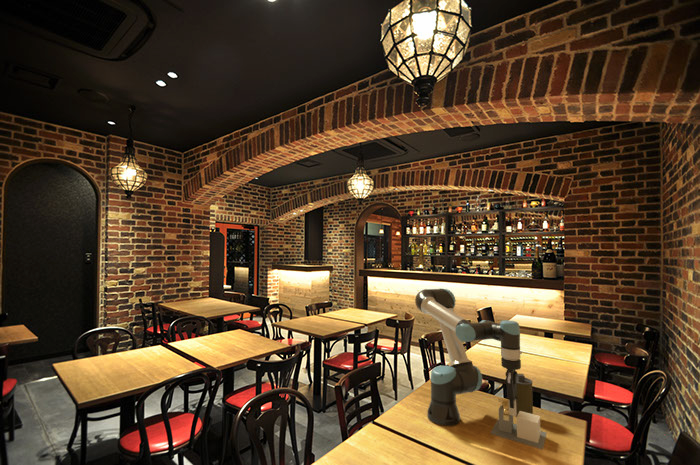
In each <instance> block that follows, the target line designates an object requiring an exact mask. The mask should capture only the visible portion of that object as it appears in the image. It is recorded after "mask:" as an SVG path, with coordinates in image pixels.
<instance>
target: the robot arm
mask: <svg viewBox="0 0 700 465" xmlns="http://www.w3.org/2000/svg"><path fill="white" fill-rule="evenodd" d="M414 298H415V299H414V302H415V306H416V308H417V309H418V311H420V312H422V313H423V314H425V315H430V317H433V318H434V319H435V320H436V321H438V323H439V328H440V331H441V333H442V337H443V341H444V344H445V346H446V349H447V350H446V351H447V353H448V356H449V361H450V363H449V365H438V366H435V367H433V368H432V369H431V372H430V373H431V374H430V401H429V406H428V408H427V419H428V420H429V421H431V422H432V423H434V424H436V425H439V426H445V427H450V426H456V425H458V424H459V423H460V422H461V415H460V412H459V409H458V405H457V395H461V394H468V393H473V392H476V391H478V390H480V389H481V386H482V385H483V375H482V372H481V370H480V369H479V368H478V367H477V366H475V365H474V363H473V361H472V360H471V359H469V358H468V356H467V352H466V349H465V347H464V344H463V342H464V343H467V342H474V341H486V340H495V341H498V342H500V356H501V358H500V360H501V366H502V368H504V369H506V371H505V385H506V398H505V399H508V402H509V415H512V416H513V417H516V399H518V397H516V395H517V373H518V370H521V369H522V361H521V355H522V354H523V352H522V351H521V331H520V330H521V329H520V324H519V322H517V321H515V320H510V319H509V320H508V319H507V320H506V319H505V320H503V319H502V320H500V323H499V322H495V321H492V320H485V319H483V320H481V321H479V322H470V321H469V320H467V319H465V318H464V317H462V316H460V315H458V314H457V313H455V308H456V297H455V295H454V293H453V292H452V290H450V289H447V288H430V289H428V288H425V289H422V290H420V291H419V292H418V293H417V294H416V296H415V297H414Z"/></svg>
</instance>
